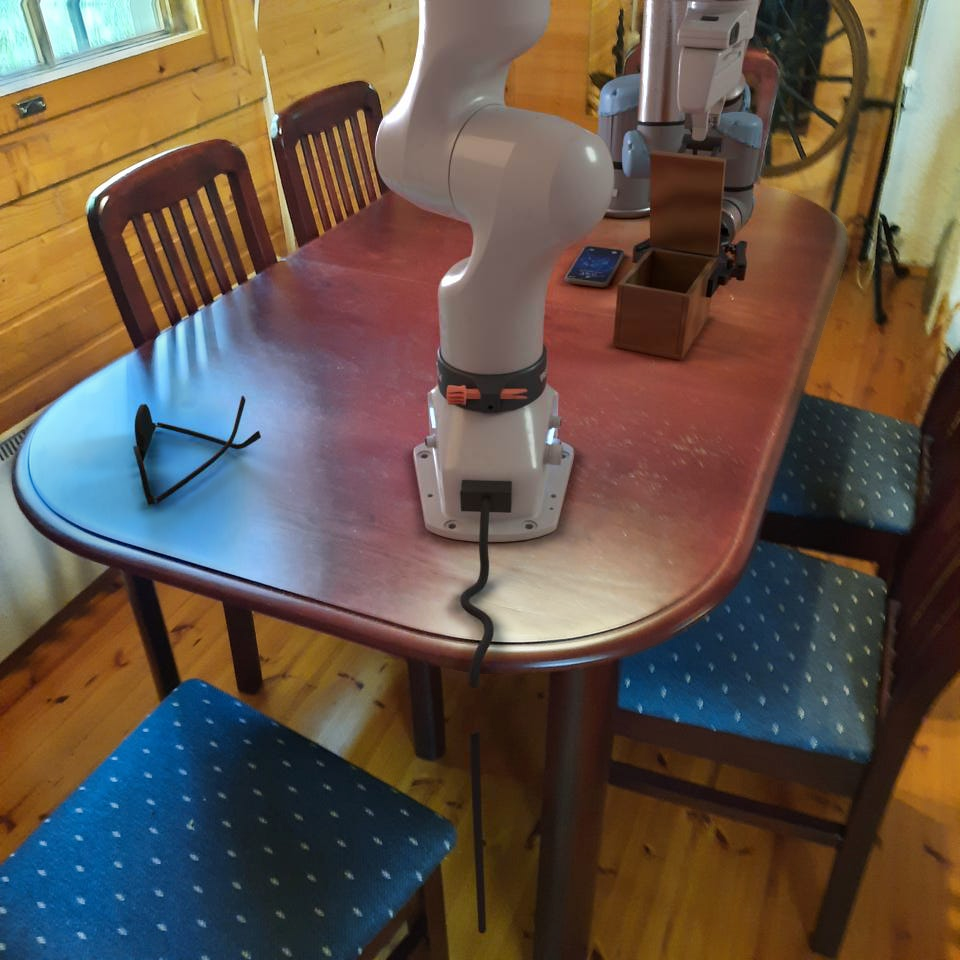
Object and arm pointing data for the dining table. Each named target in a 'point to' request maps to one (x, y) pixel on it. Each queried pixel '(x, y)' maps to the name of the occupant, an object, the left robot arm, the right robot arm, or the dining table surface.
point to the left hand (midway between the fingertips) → (705, 133)
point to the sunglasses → (147, 427)
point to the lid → (687, 197)
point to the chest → (663, 303)
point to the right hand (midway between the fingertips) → (672, 282)
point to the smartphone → (595, 266)
